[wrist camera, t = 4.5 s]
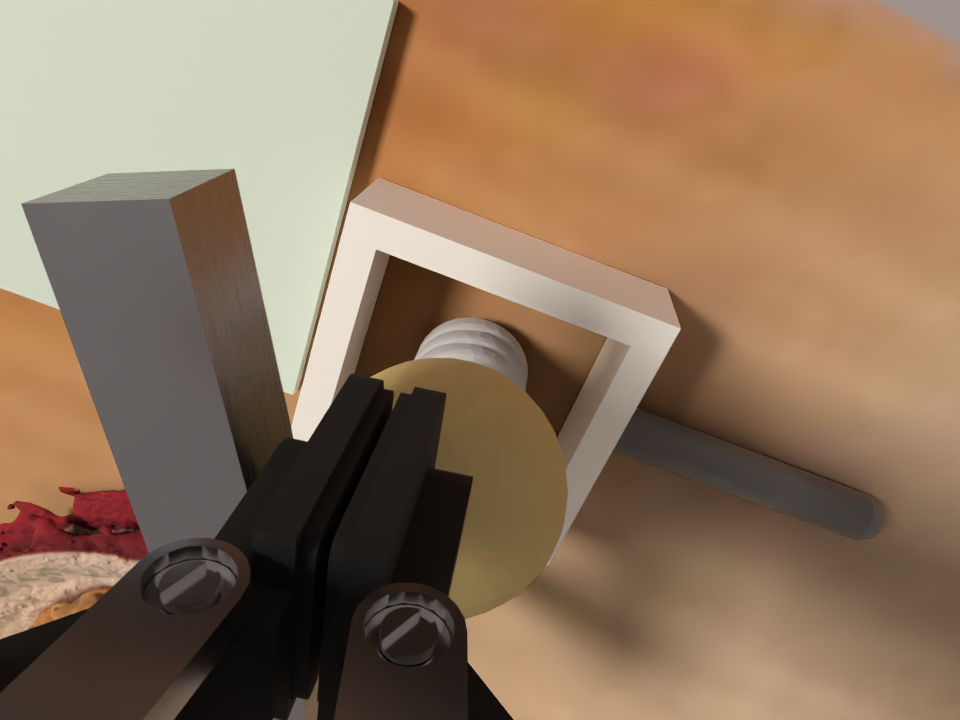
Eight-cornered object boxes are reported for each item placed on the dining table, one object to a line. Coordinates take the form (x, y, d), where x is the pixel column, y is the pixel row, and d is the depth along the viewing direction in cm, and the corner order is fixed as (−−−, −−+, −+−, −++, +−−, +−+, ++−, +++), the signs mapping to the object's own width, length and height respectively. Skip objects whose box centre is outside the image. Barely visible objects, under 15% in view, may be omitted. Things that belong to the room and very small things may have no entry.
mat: (398, 1, 18) (393, 0, 18) (299, 386, 24) (292, 395, 24) (-71, -187, 18) (-91, -194, 17) (-54, 257, 24) (-68, 262, 23)
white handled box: (958, 401, 22) (1249, 694, 12) (757, 642, 27) (851, 966, 18) (379, 177, 21) (218, 313, 11) (295, 476, 26) (144, 729, 17)
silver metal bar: (260, 167, 10) (199, 197, 8) (391, 819, 17) (372, 902, 15) (83, 174, 10) (-8, 204, 9) (285, 808, 17) (256, 889, 16)
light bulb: (345, 328, 23) (204, 524, 14) (503, 234, 21) (451, 397, 12) (449, 464, 25) (382, 709, 16) (603, 392, 23) (622, 628, 14)
